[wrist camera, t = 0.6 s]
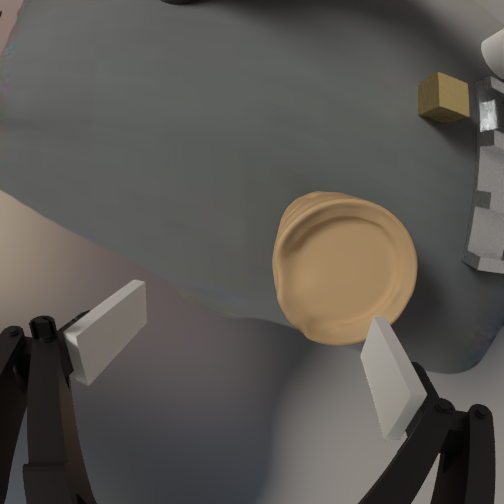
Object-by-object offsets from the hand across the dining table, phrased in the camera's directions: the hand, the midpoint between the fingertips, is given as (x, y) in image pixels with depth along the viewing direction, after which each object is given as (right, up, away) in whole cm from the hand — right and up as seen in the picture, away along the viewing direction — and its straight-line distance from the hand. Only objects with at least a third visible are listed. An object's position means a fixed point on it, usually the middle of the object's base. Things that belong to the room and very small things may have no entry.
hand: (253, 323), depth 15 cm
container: (+10, +6, +24) cm, 27 cm away
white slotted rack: (+39, +16, +17) cm, 46 cm away
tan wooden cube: (+27, +26, +16) cm, 40 cm away
